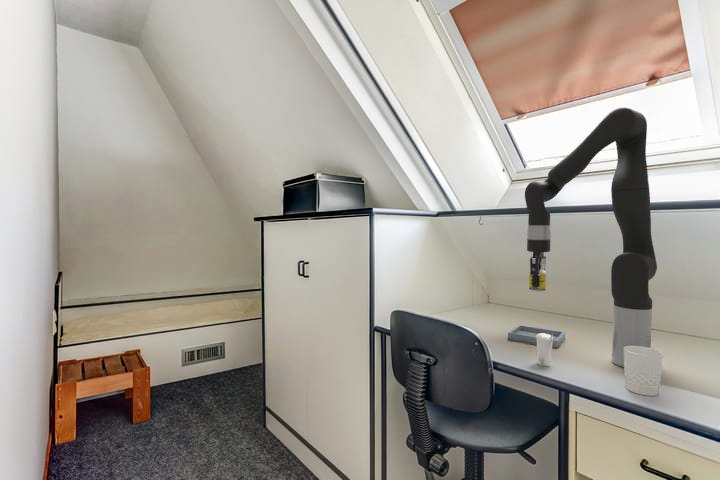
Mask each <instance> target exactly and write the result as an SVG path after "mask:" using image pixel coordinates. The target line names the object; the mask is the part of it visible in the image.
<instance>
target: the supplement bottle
mask: <svg viewBox="0 0 720 480" xmlns="http://www.w3.org/2000/svg"><path fill="white" fill-rule="evenodd" d="M543 268H544V264H543V265H542V270H541V271H540V276H539V277H540V280H539V287H533V286H532V275H531V274H530V273H529V275H528V276H529V277H528V278H529V280H528V285H529V286H528V289H529V290H528V291H530V292H534V293H545V292H546V289H547V285H546V284H547V271H546V269H545V270H543ZM534 271H536V270H534Z"/></svg>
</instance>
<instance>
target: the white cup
mask: <svg viewBox="0 0 720 480" xmlns="http://www.w3.org/2000/svg"><path fill="white" fill-rule="evenodd" d="M663 358H664V353H663V352H662V351H660V350H658V349H655V348H652V347H651V348H647V347H641V346H625V347H624V367H623V371H624V373H623V374H624V386H625V388H626V390H628V391H629V392H632V393H634V394H638V395H641V396H647V397H649V396H650V397H654V396H658V395H659V393H660V384H661V378H662V369H663Z"/></svg>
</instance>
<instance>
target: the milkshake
mask: <svg viewBox="0 0 720 480" xmlns="http://www.w3.org/2000/svg"><path fill="white" fill-rule="evenodd" d="M552 336H553V334H552V335H550V334H546V333H539V334H537V335H536V343H537V345H536V353H537V357H536V358H537V364H538V365H539V366H541V367H542V366H543V367H550V366H551V357H552V349H553V348H552V343H553V337H552Z"/></svg>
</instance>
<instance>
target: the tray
mask: <svg viewBox="0 0 720 480" xmlns="http://www.w3.org/2000/svg"><path fill="white" fill-rule="evenodd" d="M539 333H546V334H550V335H552V334H553V336H552V337H553V343H552V349H559V348H560V346H561V344H562V343H564V341H565V340H566V331H561V330H555V329H548V328H543V327H542V328H541V327H535V326H529V325H523V324H518V325H516V326H515V327H514V328H512V329H511V330H510V331H508V333H507V340H508V341H513V342H517V343H518V342H519V343H523V344H530V345H535V346H537V343H536V335H537V334H539Z"/></svg>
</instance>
